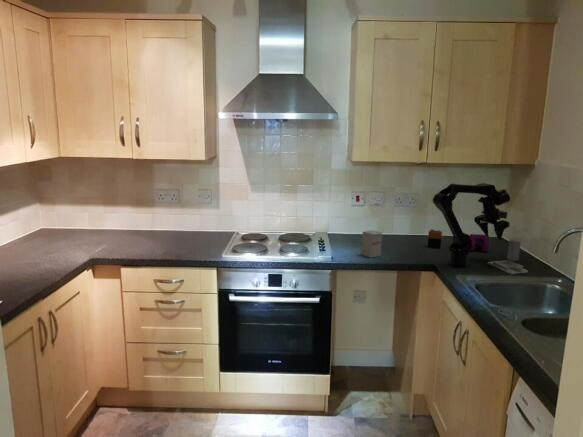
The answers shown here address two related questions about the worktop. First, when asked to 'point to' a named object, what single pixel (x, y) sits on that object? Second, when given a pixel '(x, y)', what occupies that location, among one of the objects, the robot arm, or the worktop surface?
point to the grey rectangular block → (513, 250)
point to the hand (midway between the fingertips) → (493, 237)
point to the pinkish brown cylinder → (371, 243)
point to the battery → (434, 239)
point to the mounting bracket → (480, 242)
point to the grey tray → (508, 266)
